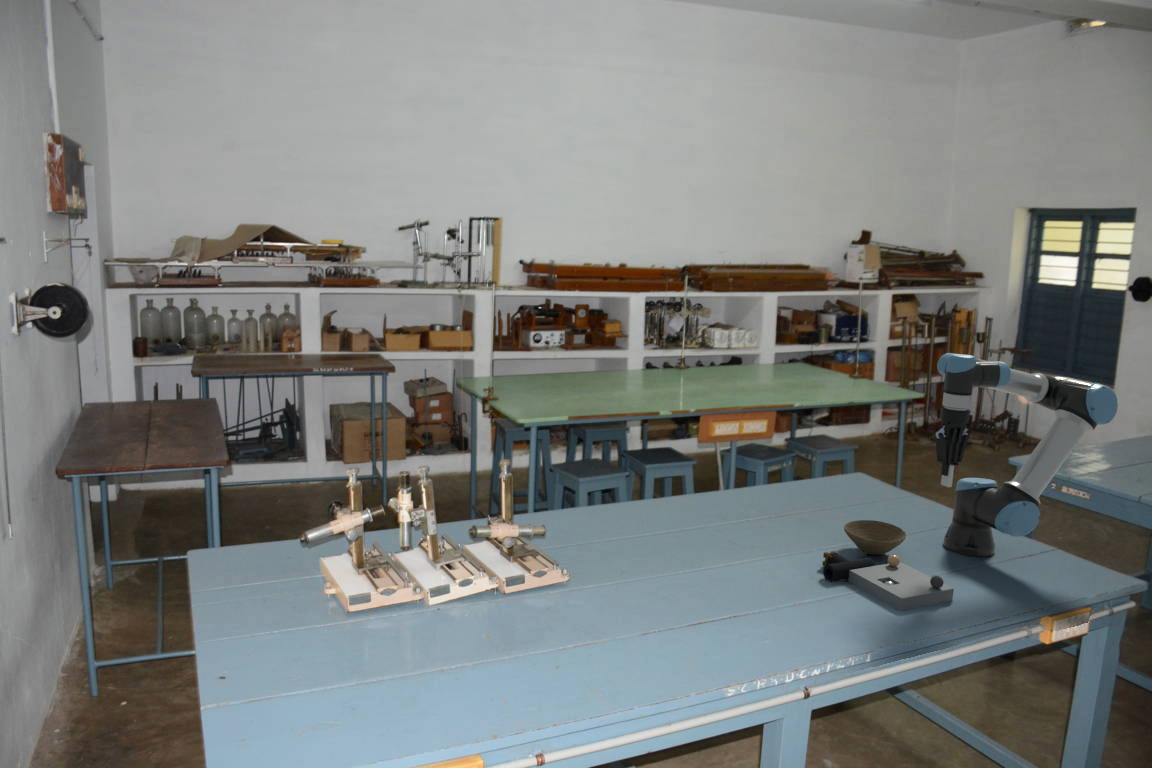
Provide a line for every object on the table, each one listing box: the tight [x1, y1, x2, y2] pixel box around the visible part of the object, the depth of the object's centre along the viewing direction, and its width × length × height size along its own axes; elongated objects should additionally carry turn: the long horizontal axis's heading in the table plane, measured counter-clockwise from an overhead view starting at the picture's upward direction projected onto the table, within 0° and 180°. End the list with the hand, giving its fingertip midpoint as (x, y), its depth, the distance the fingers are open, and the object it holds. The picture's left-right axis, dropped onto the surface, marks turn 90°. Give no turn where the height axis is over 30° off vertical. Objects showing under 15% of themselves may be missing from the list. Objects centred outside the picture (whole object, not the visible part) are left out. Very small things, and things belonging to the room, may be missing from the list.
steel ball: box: [884, 581, 894, 586], centre depth 240 cm, size 3×3×3 cm
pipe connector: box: [821, 550, 876, 583], centre depth 252 cm, size 12×5×15 cm
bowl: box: [843, 519, 907, 556], centre depth 269 cm, size 18×18×8 cm
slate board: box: [847, 561, 955, 612], centre depth 241 cm, size 19×20×4 cm
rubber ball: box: [930, 575, 945, 589], centre depth 236 cm, size 3×3×3 cm
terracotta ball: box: [887, 554, 901, 567], centre depth 250 cm, size 3×3×3 cm
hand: (946, 485), depth 253 cm, fingers closed
